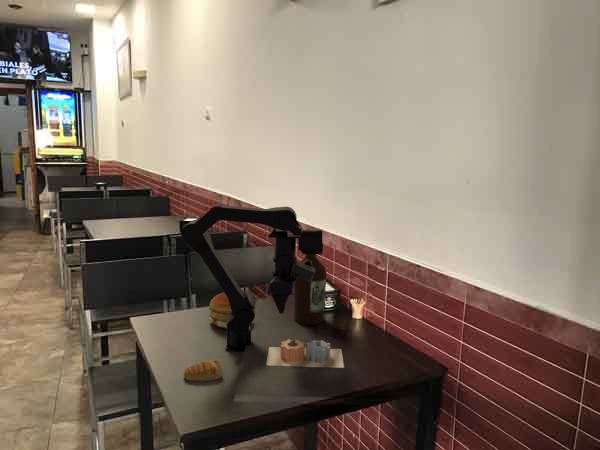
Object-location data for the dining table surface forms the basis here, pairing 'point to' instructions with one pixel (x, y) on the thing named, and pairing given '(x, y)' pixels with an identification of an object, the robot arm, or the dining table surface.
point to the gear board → (275, 359)
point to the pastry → (204, 371)
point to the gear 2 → (318, 351)
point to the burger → (219, 310)
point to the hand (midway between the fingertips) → (283, 307)
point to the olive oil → (310, 294)
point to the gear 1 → (292, 350)
